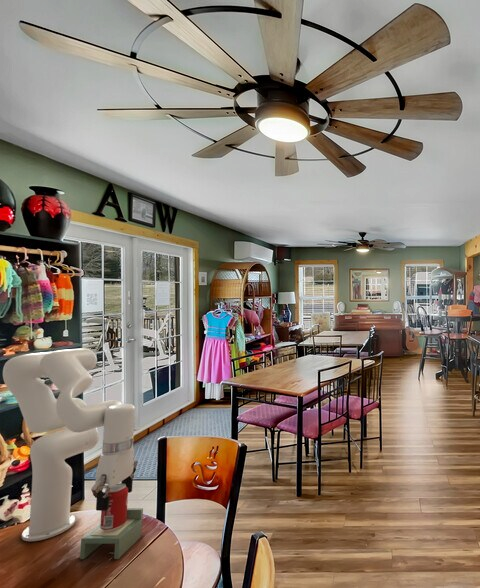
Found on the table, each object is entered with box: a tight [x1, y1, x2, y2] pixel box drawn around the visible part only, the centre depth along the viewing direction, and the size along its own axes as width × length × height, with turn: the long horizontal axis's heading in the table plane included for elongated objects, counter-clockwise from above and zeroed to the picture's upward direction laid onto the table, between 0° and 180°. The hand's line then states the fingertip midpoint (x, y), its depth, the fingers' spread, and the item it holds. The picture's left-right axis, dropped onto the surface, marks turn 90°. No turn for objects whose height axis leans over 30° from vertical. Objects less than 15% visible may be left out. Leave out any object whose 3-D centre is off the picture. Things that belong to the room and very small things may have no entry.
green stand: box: [79, 507, 144, 560], centre depth 106 cm, size 11×10×9 cm
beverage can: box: [100, 482, 129, 532], centre depth 106 cm, size 6×6×12 cm
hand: (114, 500), depth 106 cm, fingers open, 9 cm apart
